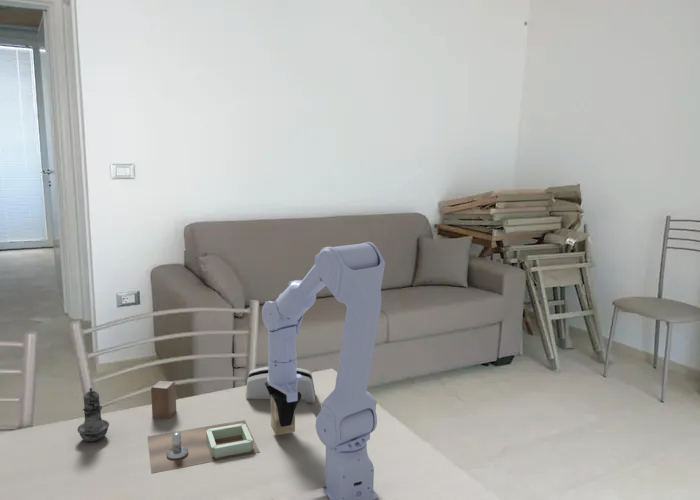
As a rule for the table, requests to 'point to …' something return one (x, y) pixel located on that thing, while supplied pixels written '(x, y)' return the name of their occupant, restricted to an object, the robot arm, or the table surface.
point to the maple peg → (276, 424)
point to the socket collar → (229, 447)
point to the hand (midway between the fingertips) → (282, 420)
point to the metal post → (176, 448)
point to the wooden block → (163, 399)
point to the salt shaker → (92, 418)
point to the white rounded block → (259, 390)
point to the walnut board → (190, 448)
